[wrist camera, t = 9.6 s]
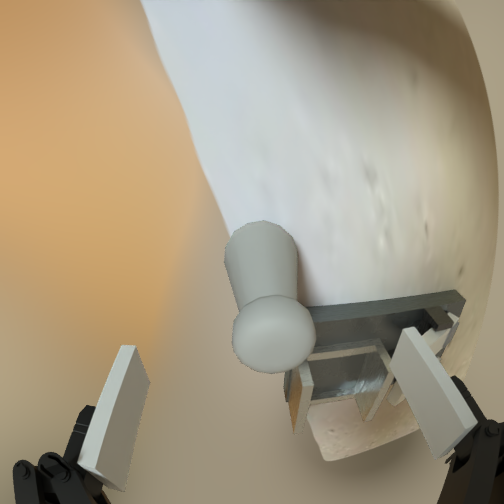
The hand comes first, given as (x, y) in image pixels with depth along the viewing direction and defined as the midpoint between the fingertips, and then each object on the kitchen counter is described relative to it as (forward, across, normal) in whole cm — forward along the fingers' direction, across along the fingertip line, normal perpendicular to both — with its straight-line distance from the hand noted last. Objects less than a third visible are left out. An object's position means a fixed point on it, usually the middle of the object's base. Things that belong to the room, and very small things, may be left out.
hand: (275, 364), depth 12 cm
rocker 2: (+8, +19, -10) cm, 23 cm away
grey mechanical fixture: (+14, +14, -13) cm, 24 cm away
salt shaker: (+14, 0, 0) cm, 14 cm away
